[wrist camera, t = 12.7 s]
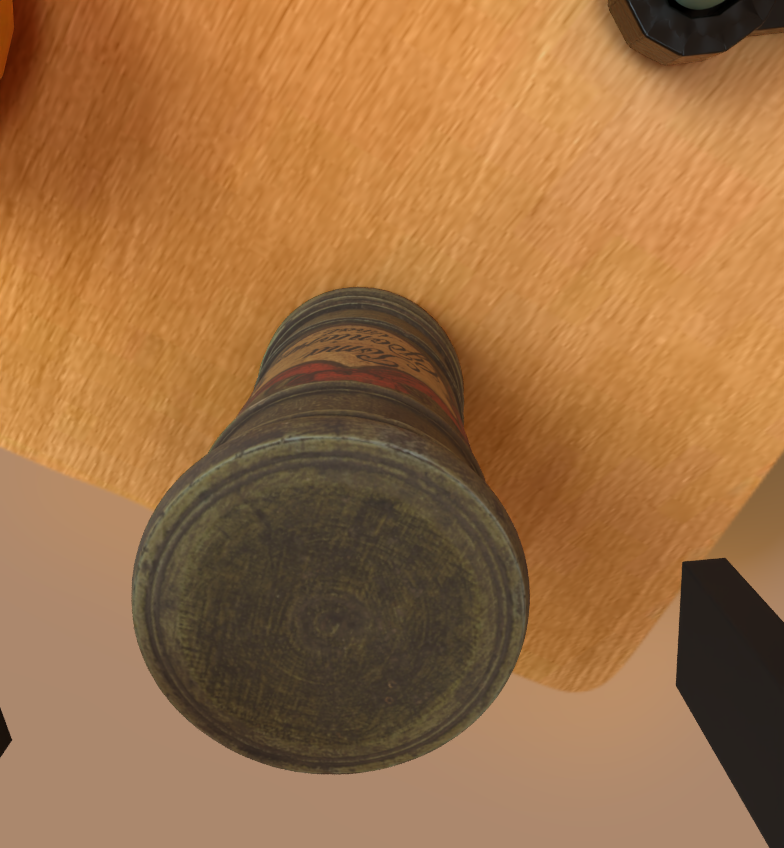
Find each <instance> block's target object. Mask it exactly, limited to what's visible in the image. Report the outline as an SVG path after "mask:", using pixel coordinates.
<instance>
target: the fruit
mask: <svg viewBox="0 0 784 848" xmlns="http://www.w3.org/2000/svg"><path fill="white" fill-rule="evenodd" d="M13 31H14V19H13V3H12V0H0V79H1V78H2V76H3V73H4V69H5V64H6V60H7V56H8V52H9V48H10V43H11V39H12V35H13Z"/></svg>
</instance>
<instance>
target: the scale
mask: <svg viewBox="0 0 784 848" xmlns="http://www.w3.org/2000/svg"><path fill="white" fill-rule="evenodd" d="M608 7H609V11H610V12H611V14H612V16H613V18H614V20H615V22H616V24H617V26H618V28H619V29H620V31H621V33H622V35H623V37H624V39H625V41H626V43H627V44H628V45H629V46H630V48H632V49H634V50H636V51H638V52H640V53H642V54H643V55H645V56H647V57H649V58H651V59H653V60H654V61H656V62H658V63H660V64H663V65H671V64H680V63H690V62H699V61H704V60H706V59H708V58H711V57H713V56H716V55H718V54H720V53H723V52H725V51H727V50H729V49H730V48H731V47H733V46H734V45H735V44H737V43H738V42H740V41H741V40H742V39H744V38H745V37H747V36H754V35H763V34H773V33H782V32H784V0H725V1H723V2H721V3H719V4H718V5H716V6H714V7H711V8H708V9H703V10H695V9H690V8H686V7H684V6H682V5H681V4H679V3H678V2H677V1H676V0H608Z"/></svg>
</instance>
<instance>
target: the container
mask: <svg viewBox="0 0 784 848" xmlns="http://www.w3.org/2000/svg"><path fill="white" fill-rule="evenodd" d="M463 391H464V388H463V377H462V371H461V367H460V363H459V360H458V357H457V354H456V352H455V350H454V347H453V345H452V344H451V342H450V340H449V338H448V336H447V335H446V333H445V332H444V330H443V329H442V328H441V326H440V325H439V324H438V323H437V322H436V321H435V320H434V319H433V318H432V317H431V316H430V315H429V314H428V313H427V312H426V311H425V310H423V309H422V308H421V307H419V306H418V305H416V304H415V303H413V302H412V301H410V300H408V299H406V298H404V297H402V296H400V295H397V294H394V293H391V292H388V291H385V290H380V289H375V288H366V287H350V288H342V289H337V290H333V291H329V292H326V293H323V294H321V295H318V296H316V297H314V298H312V299H310V300H308V301H307V302H305V303H304V304H302V305H301V306H299V307H298V308H297V309H296V310H294V311H293V312H292V313H291V314H290V315H289V316H288V317H287V318H286V319H285V320H284V321H283V322H282V324H281V325H280V326H279V328H278V329H277V331H276V332H275V334H274V336H273V337H272V339H271V341H270V343H269V346H268V348H267V350H266V353H265V355H264V357H263V360H262V363H261V366H260V370H259V374H258V378H257V381H256V384H255V387H254V390H253V392H252V394H251V396H250V398H249V399H248V401H247V402H246V404H245V405H244V406H243V408H242V409H241V411H240V412H239V414H238V415H237V417H236V419H235V420H233V422H232V423H230V424H229V425H228V426H227V428H226V429H225V430H224V431H223V432H222V433H221V435H220V436H219V437H218V438H217V440H216V441H215V443H214V444H213V446H212V447H211V449H210V450H209V452H208V454H207V455H205V456H204V457H203V458H202V459H200V460H199V461H198V462H196V463H195V464H194V465H193V466H191V467H190V468H189V469H188V470H187V471H186V472H185V473H184V474H183V475H182V476H181V477H180V478H179V479H178V480H177V481H176V482H175V483H174V484H173V485H172V487H171V488H170V489H169V490H168V491H167V492H166V494H165V495H164V497H163V498H162V500H161V501H160V503H159V504H158V506H157V507H156V509H155V511H154V512H153V514H152V516H151V518H150V520H149V522H148V524H147V526H146V528H145V530H144V533H143V536H142V538H141V541H140V545H139V547H138V552H137V555H136V559H135V564H134V570H133V577H132V614H133V623H134V629H135V634H136V637H137V642H138V645H139V647H140V650H141V653H142V656H143V658H144V661H145V663H146V665H147V667H148V669H149V671H150V673H151V674H152V676H153V678H154V680H155V682H156V683H157V685H158V687H159V688H160V690H161V691H162V692H163V694H164V695H165V696H166V697H167V699H168V700H169V701H170V702H171V704H172V705H173V706H174V707H175V708H176V709H177V710H178V711H179V712H180V713H181V714H182V715H183V716H184V717H185V718H186V719H187V720H188V721H189V722H191V723H192V724H193V725H194V726H195V727H197V728H198V729H199V730H201V731H202V732H203V733H205V734H206V735H208V736H209V737H211V738H212V739H214V740H215V741H217V742H218V743H220V744H222V745H223V746H225V747H227V748H228V749H230V750H232V751H234V752H236V753H238V754H240V755H242V756H245V757H247V758H250V759H252V760H255V761H258V762H260V763H263V764H266V765H270V766H272V767H276V768H280V769H285V770H290V771H295V772H303V773H311V774H353V773H362V772H368V771H375V770H380V769H384V768H388V767H392V766H395V765H398V764H402V763H405V762H407V761H410V760H413V759H416V758H418V757H420V756H423V755H425V754H427V753H429V752H431V751H433V750H435V749H437V748H439V747H441V746H442V745H444V744H446V743H447V742H449V741H450V740H452V739H453V738H455V737H456V736H458V735H459V734H460V733H462V732H463V731H464V730H466V729H467V728H468V727H469V726H470V725H472V724H473V723H474V722H475V721H476V720H477V719H478V718H479V717H480V716H481V715H482V714H483V713H484V712H485V711H486V709H487V708H488V707H489V706H490V705H491V703H493V701H494V700H495V699H496V698H497V696H498V695H499V693H500V692H501V690H502V689H503V687H504V686H505V684H506V682H507V680H508V679H509V677H510V675H511V673H512V671H513V669H514V667H515V665H516V662H517V660H518V657H519V655H520V652H521V649H522V646H523V642H524V639H525V635H526V630H527V624H528V617H529V605H530V590H529V577H528V569H527V564H526V559H525V554H524V551H523V548H522V545H521V542H520V539H519V536H518V533H517V531H516V529H515V527H514V525H513V523H512V521H511V519H510V517H509V515H508V513H507V512H506V510H505V508H504V507H503V505H502V504H501V502H500V501H499V499H498V498H497V496H496V495H495V494H494V492H493V491H492V490H491V489H490V487H489V486H488V485H487V483H486V482H485V478H484V476H483V473H482V471H481V469H480V466H479V464H478V462H477V460H476V459H475V457H474V455H473V453H472V450H471V447H470V444H469V441H468V438H467V436H466V433H465V431H464V416H463V410H464V395H463Z"/></svg>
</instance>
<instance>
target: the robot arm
mask: <svg viewBox="0 0 784 848" xmlns="http://www.w3.org/2000/svg"><path fill="white" fill-rule="evenodd" d="M676 687H677V688H678V690H679V692H680V693H681V695H682V697H683V699H684V700H685V702H686V704H687V706H688V707H689V709H690V711H691V712H692V714H693V716H694V718H695V720H696V721H697V723H698V725H699V726H700V728H701V730H702V732H703V733H704V735H705V737H706V739H707V740H708V742H709V744H710V746H711V747H712V749H713V751H714V752H715V754H716V756H717V758H718V759H719V761H720V763H721V765H722V766H723V768H724V770H725V771H726V773H727V775H728V777H729V779H730V780H731V782H732V784H733V785H734V787H735V789H736V790H737V792H738V794H739V796H740V798H741V799H742V801H743V803H744V804H745V806H746V808H747V810H748V811H749V813H750V815H751V817H752V818H753V820H754V822H755V824H756V825H757V827H758V829H759V830H760V832H761V834H762V836H763V837H764V839H765V841H766V843H767V844H768V846H769V848H784V622H783V621H782V620H781V619H780V618H779V617H778V615H776V613H775V612H774V611H773V610H772V609H771V608H770V607H769V606H768V605H767V603H766V602H765V601H764V600H763V599H762V598H761V597H760V596H759V594H757V592H756V591H755V590H754V589H753V588H752V587H751V586H750V585H749V583H747V581H746V580H745V579H744V578H743V577H742V576H741V575H740V574H739V573H738V571H737V570H736V569H735V568H734V567H733V566H732V565H731V564H730V563H729V561H728V560H727V559H726V558H719V559H707V560H696V561H684V562H682V580H681V599H680V617H679V636H678V655H677V674H676ZM11 741H12V739H11V736H10V733H9V731H8V728H7V725H6V722H5V720H4V717H3V714H2V711H1V708H0V757H1V756H2V754H3V753H4V751H5V750H6V748H7V747H8V745H9V744H10V742H11Z"/></svg>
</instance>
